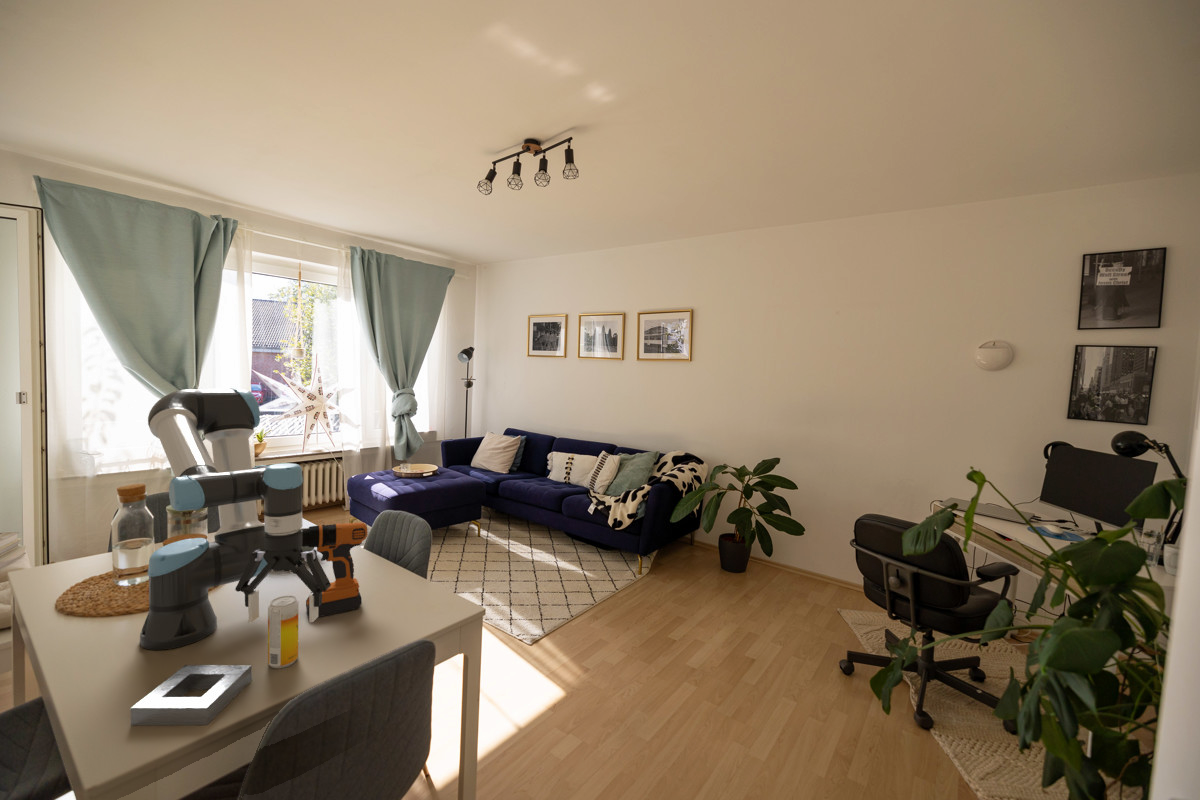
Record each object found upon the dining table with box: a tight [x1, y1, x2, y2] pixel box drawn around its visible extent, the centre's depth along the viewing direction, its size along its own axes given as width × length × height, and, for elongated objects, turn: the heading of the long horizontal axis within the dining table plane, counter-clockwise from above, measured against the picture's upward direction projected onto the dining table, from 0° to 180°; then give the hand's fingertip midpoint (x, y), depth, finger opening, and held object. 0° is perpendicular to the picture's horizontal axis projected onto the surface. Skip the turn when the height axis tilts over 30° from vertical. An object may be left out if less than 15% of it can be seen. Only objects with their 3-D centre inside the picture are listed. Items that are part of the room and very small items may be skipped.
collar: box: [130, 664, 253, 726], centre depth 105 cm, size 14×14×4 cm
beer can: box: [267, 595, 299, 669], centre depth 119 cm, size 6×6×15 cm
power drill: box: [301, 521, 368, 618], centre depth 143 cm, size 22×7×25 cm, turn 123°
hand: (284, 619), depth 118 cm, fingers open, 13 cm apart
